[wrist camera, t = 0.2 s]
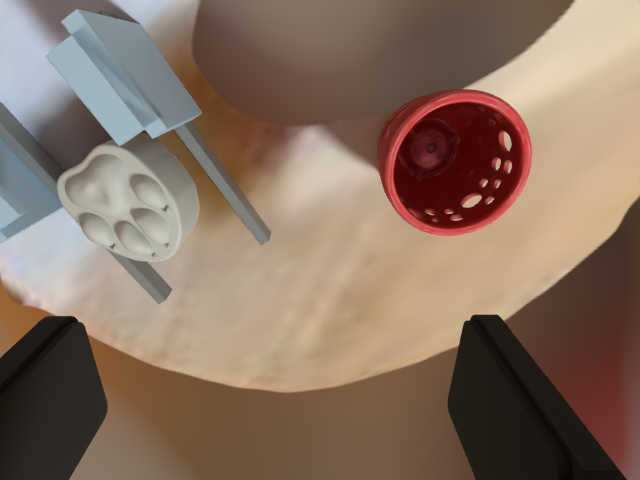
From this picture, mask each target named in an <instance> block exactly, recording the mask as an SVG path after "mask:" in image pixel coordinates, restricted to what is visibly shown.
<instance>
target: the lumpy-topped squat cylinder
mask: <svg viewBox="0 0 640 480" xmlns="http://www.w3.org/2000/svg"><path fill="white" fill-rule="evenodd" d="M57 193H58V197H59V199H60V202H61V204H62V205H63V207H64V208H65V210H66V211H67V212H68V213H69V214H70V216H71V217H72V218H73V219H74V220H75V221H76V222H77V223H78V225H79V226H80V227H81V228H82V231H83V232H84V234H85V235H86V237H87V238H88V239H89V240H91V241H92V242H94V243H97V244H100V245H102V246H103V247H105V248H106V249H108V250H110V251H112V252H114V253H117V254H119V255H122V256H124V257H127V258H130V259H133V260H137V261H144V262H159V261H163V260H166V259H168V258H170V257H171V256H173V255H174V254H175V253H176V252H177V250H178V249H179V248H180V246H181V245H182V243H183V242H184V241H185V239H186V238H187V237H188V235H189V234H190V232H191V231H192V230H193V228H194V227H195V225H196V223H197V220H198V216H199V199H198V194H197V189H196V186H195V183H194V181H193V179H192V177H191V176H190V175H189V173H188V172H187V170H186V169H185V168H184V166H183V165H182V164H181V163H180V162H179V160H178V159H177V158H176V157H175V156H174V155H173V154H172V153H171V152H170V151H169V150H168V149H167V148H166V147H165V146H164V145H163V144H162V143H161V142H160V141H159V140H158V139H156V138H153V139H152V138H151V136H150V135H149V134H146V133H143V132H140V133H139V134H138V135H136V136H135V137H133V138H132V139H130V140H129V141H128V142H126V143H125V144H123V145H120V146H119V145H118V144H117V143H116V142H115V141H114V139H113V140H110V141H108V142H106V143H103V144H100V145H98V146H96V147H95V148H94V149H93V150H92V151H91V152H90V153H89V154H88V155H87V157H86V158H85V159H84V160H83V161H82V162H81V163H80V164H78V165H76V166H74V167H72V168H70V169H68V170H67V171H65V172H64V173H62V174H61V175H60V177H59V178H58V180H57Z"/></svg>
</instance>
